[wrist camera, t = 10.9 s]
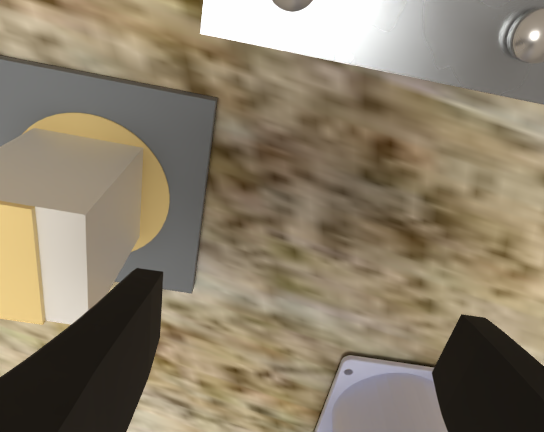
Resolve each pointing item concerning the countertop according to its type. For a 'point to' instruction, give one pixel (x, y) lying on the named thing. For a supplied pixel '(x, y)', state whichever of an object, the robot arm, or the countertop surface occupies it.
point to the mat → (130, 131)
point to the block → (64, 222)
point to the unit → (401, 37)
